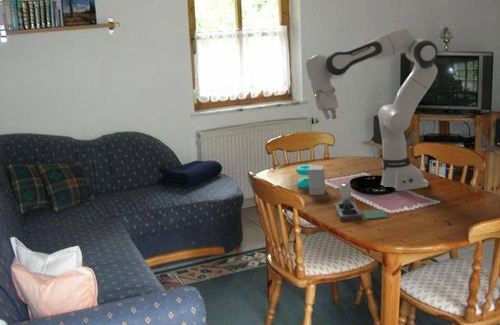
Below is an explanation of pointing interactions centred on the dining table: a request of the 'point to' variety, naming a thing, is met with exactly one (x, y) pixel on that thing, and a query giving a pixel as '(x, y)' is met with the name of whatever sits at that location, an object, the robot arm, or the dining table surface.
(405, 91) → the robot arm
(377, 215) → the mat
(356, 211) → the grey double frame
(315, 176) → the supplement box
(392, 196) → the dining table surface
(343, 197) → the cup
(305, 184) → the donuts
